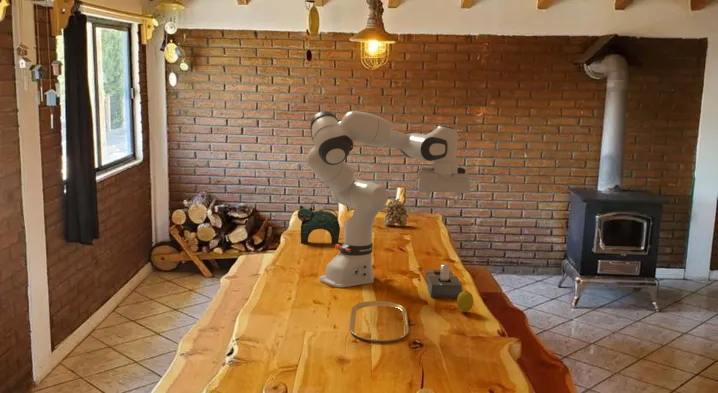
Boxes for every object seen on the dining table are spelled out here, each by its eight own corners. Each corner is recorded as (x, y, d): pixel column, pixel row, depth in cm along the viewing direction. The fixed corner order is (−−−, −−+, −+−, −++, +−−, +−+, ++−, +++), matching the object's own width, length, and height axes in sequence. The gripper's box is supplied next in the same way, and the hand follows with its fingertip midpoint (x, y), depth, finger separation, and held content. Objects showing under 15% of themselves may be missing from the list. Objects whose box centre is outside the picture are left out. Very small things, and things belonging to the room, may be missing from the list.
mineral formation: (382, 224, 365) (383, 196, 363) (407, 224, 366) (408, 197, 364) (384, 227, 358) (385, 199, 355) (409, 228, 358) (410, 199, 356)
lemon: (470, 309, 239) (472, 287, 238) (473, 315, 234) (475, 293, 232) (455, 309, 239) (456, 287, 238) (457, 315, 234) (459, 292, 232)
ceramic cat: (297, 243, 320) (297, 201, 316) (297, 240, 326) (298, 199, 322) (339, 244, 320) (340, 203, 317) (339, 241, 327) (340, 200, 323)
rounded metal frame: (348, 343, 208) (348, 338, 208) (352, 304, 242) (352, 299, 242) (409, 346, 207) (410, 341, 207) (405, 306, 242) (405, 302, 241)
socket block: (454, 287, 263) (454, 277, 262) (428, 287, 263) (428, 276, 262) (450, 279, 273) (450, 269, 272) (425, 279, 272) (425, 269, 272)
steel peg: (444, 295, 254) (445, 266, 252) (437, 292, 256) (439, 264, 254) (449, 293, 256) (451, 265, 254) (443, 291, 258) (444, 263, 256)
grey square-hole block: (461, 298, 251) (461, 285, 250) (431, 297, 250) (431, 284, 249) (456, 288, 261) (456, 276, 260) (427, 288, 261) (428, 275, 260)
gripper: (418, 168, 260) (417, 204, 262) (472, 169, 260) (470, 205, 263) (416, 166, 266) (415, 201, 268) (469, 167, 267) (467, 202, 269)
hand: (442, 203), depth 266 cm, fingers open, 8 cm apart
